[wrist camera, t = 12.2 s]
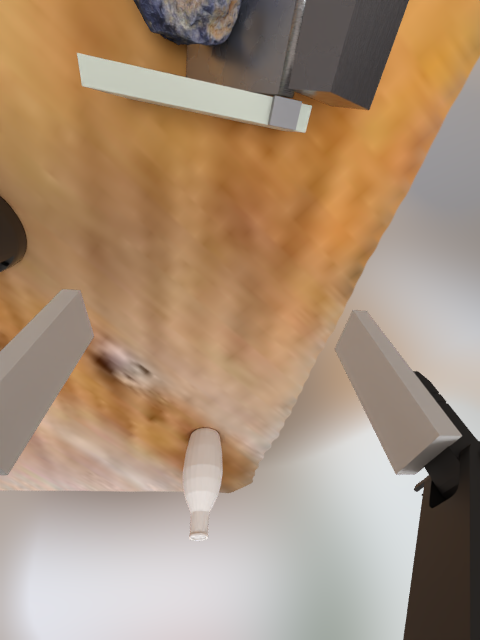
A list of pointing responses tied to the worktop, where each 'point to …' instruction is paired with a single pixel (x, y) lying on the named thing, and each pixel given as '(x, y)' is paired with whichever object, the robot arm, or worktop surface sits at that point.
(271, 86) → the trapdoor
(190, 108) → the frame
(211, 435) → the bottle
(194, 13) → the rock
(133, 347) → the worktop surface
